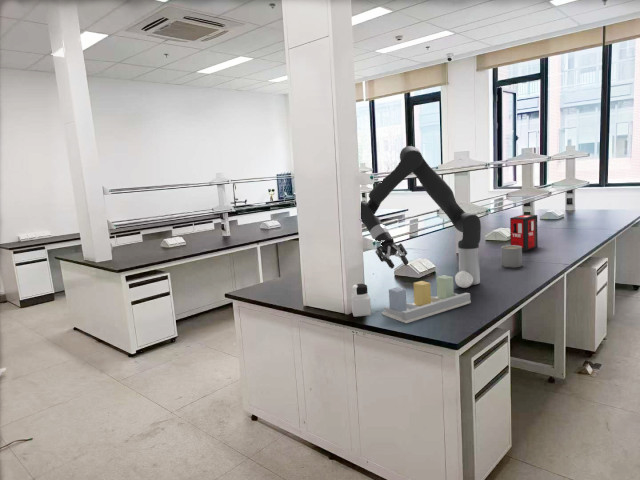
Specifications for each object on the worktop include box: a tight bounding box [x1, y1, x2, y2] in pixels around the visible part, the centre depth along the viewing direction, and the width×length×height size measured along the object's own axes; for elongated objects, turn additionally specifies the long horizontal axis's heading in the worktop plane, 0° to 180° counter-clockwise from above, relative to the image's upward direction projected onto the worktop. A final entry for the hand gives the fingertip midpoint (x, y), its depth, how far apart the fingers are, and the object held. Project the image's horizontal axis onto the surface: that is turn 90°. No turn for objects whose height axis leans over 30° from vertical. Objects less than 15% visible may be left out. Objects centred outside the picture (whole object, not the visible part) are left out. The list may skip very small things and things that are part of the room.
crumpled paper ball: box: [454, 271, 473, 289], centre depth 209 cm, size 8×8×8 cm
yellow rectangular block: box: [412, 280, 432, 306], centre depth 185 cm, size 5×4×9 cm
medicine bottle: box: [350, 283, 372, 318], centre depth 184 cm, size 7×7×12 cm
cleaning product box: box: [509, 214, 538, 252], centre depth 281 cm, size 16×9×20 cm, turn 130°
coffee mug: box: [501, 244, 523, 268], centre depth 243 cm, size 13×10×10 cm
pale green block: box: [436, 274, 455, 299], centre depth 191 cm, size 5×4×9 cm
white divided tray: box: [381, 292, 472, 324], centre depth 184 cm, size 14×35×4 cm, turn 121°
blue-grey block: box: [388, 286, 408, 312], centre depth 179 cm, size 5×4×9 cm
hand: (400, 265), depth 195 cm, fingers open, 7 cm apart
